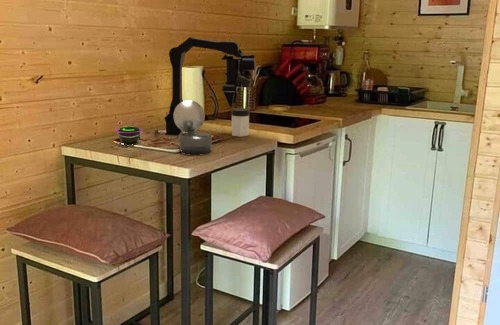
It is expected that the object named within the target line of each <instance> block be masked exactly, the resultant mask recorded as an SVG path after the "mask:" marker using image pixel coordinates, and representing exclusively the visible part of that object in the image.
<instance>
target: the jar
mask: <svg viewBox="0 0 500 325" xmlns="http://www.w3.org/2000/svg"><path fill="white" fill-rule="evenodd" d="M231 136H233V137H238V138H239V137H240V138H241V137H248V136H250V109H249V108H247V107H246V108H245V107H236V108H231Z"/></svg>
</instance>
